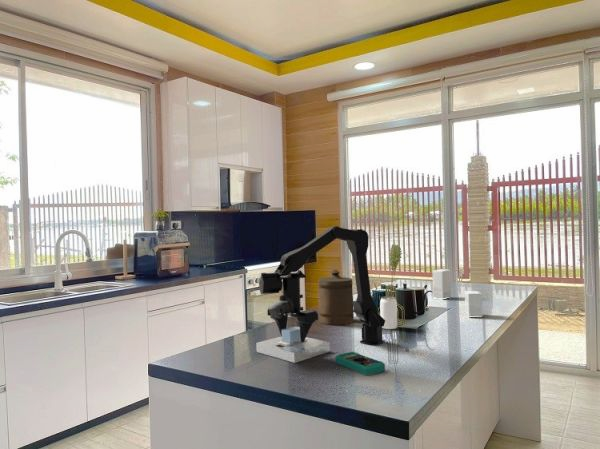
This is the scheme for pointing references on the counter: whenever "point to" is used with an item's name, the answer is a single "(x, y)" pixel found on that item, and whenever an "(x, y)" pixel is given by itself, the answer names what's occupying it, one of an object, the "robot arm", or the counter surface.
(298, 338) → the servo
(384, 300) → the can
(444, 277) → the skincare box
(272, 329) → the counter surface
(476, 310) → the small box
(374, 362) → the digital multimeter
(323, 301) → the wooden container
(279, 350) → the white flat slab
